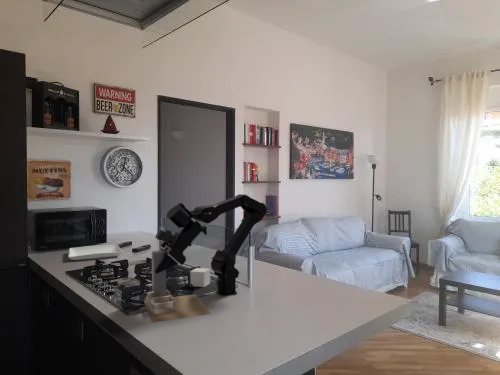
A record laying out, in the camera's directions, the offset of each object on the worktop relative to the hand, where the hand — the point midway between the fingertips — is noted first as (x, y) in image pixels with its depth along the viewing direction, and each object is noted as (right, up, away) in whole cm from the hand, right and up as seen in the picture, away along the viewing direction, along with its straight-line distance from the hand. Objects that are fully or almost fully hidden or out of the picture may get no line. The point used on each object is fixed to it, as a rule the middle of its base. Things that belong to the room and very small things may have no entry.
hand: (154, 271), depth 123 cm
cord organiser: (+8, -12, -3) cm, 15 cm away
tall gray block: (+1, -7, +1) cm, 7 cm away
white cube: (+12, -12, +26) cm, 31 cm away
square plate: (-57, -11, +87) cm, 105 cm away
